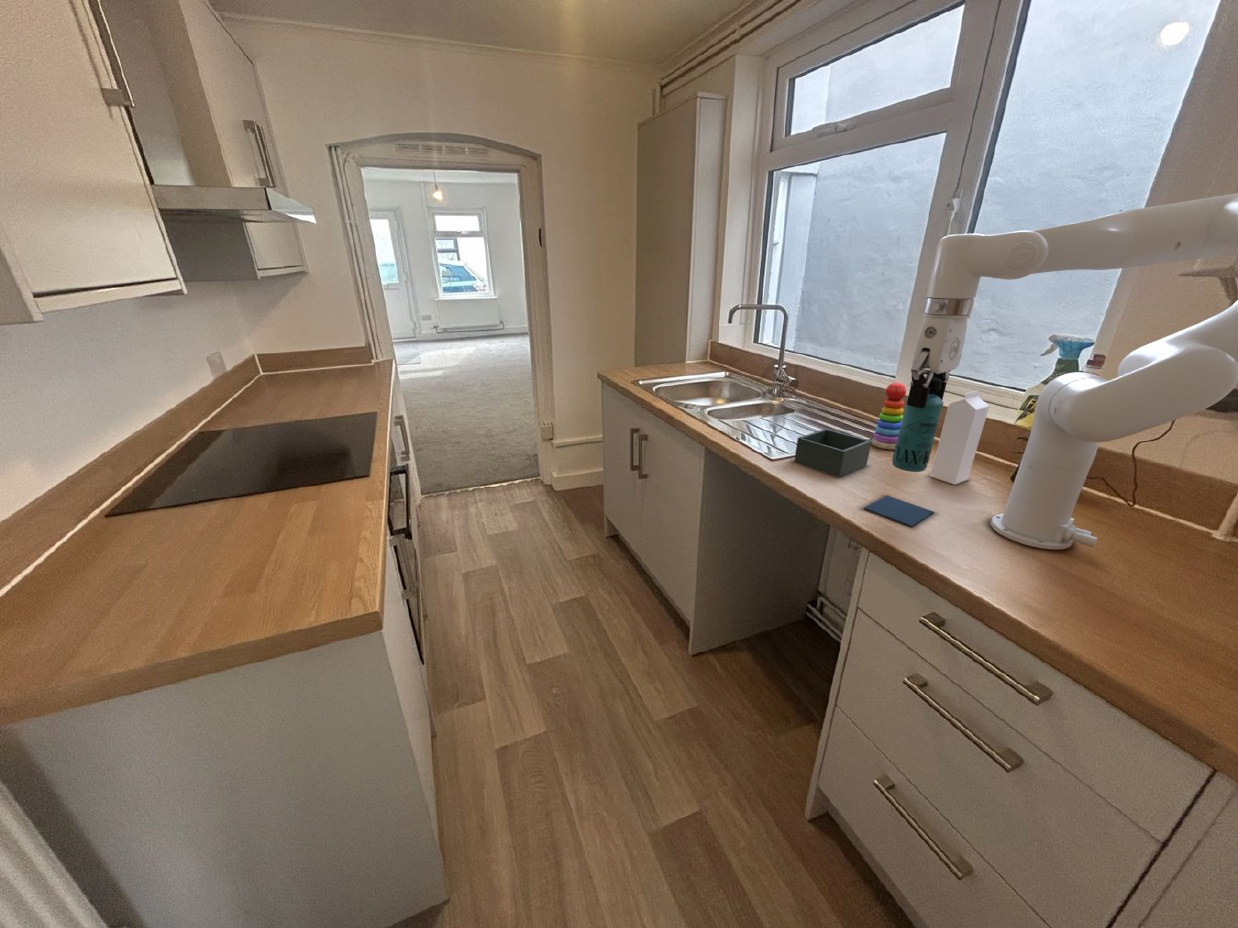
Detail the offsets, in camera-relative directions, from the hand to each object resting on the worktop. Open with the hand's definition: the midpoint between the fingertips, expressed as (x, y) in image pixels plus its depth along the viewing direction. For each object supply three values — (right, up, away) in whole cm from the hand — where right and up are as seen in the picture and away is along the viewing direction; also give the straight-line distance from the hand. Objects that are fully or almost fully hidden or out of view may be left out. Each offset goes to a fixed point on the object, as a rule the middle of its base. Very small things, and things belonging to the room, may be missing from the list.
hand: (924, 402), depth 95 cm
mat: (0, -22, +9) cm, 24 cm away
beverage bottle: (0, -14, +6) cm, 15 cm away
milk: (+22, -16, +25) cm, 37 cm away
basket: (-4, -12, +34) cm, 36 cm away
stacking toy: (+18, -7, +47) cm, 51 cm away
